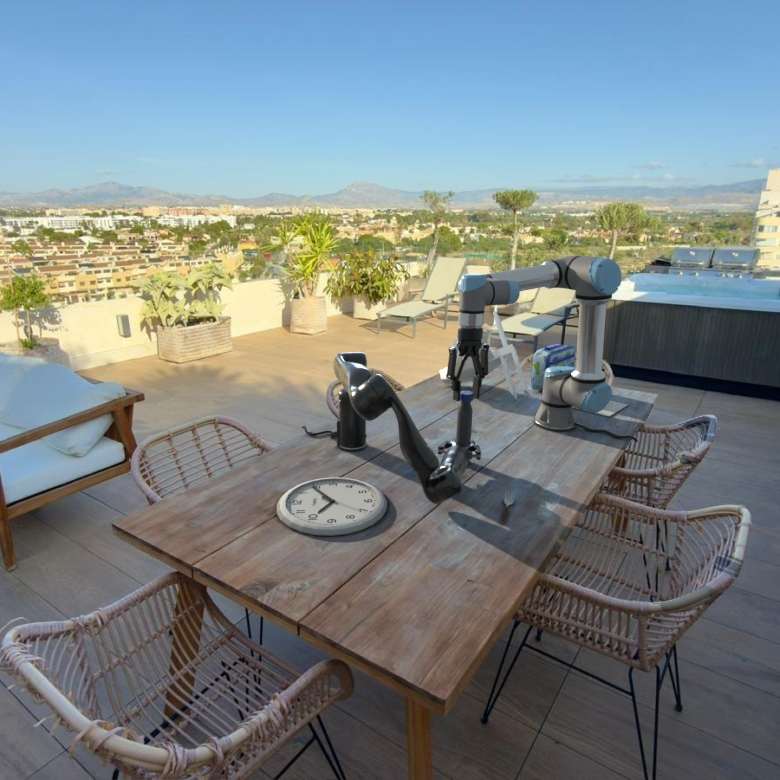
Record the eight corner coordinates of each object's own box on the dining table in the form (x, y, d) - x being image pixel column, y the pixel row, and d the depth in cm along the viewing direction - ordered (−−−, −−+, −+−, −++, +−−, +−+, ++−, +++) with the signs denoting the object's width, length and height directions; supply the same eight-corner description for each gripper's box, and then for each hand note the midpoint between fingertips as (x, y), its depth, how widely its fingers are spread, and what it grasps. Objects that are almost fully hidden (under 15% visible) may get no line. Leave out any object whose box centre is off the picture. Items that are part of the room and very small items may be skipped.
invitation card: (608, 416, 214) (573, 407, 224) (608, 416, 214) (573, 408, 224) (628, 404, 229) (594, 396, 238) (628, 405, 229) (594, 397, 238)
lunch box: (547, 396, 238) (552, 351, 232) (526, 391, 246) (531, 347, 239) (574, 385, 256) (579, 343, 250) (554, 380, 263) (559, 340, 257)
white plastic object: (461, 429, 252) (437, 405, 227) (444, 352, 274) (420, 323, 250) (535, 404, 240) (518, 377, 215) (510, 326, 262) (492, 293, 237)
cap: (468, 396, 167) (468, 389, 166) (475, 400, 163) (475, 393, 163) (456, 398, 165) (457, 391, 165) (463, 402, 162) (463, 395, 161)
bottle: (466, 458, 173) (470, 392, 167) (471, 464, 169) (476, 397, 162) (452, 459, 172) (456, 393, 166) (457, 465, 168) (461, 397, 161)
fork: (496, 524, 135) (497, 517, 134) (505, 496, 149) (506, 489, 148) (506, 526, 134) (507, 519, 133) (514, 497, 148) (515, 491, 148)
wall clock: (392, 527, 129) (268, 531, 127) (391, 533, 130) (269, 537, 127) (383, 473, 158) (282, 475, 155) (383, 478, 158) (282, 480, 156)
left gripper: (479, 454, 153) (487, 433, 168) (431, 447, 157) (443, 427, 172) (477, 477, 155) (485, 454, 170) (430, 470, 159) (442, 448, 175)
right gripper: (489, 322, 165) (484, 391, 172) (436, 326, 156) (433, 399, 163) (504, 326, 158) (498, 398, 165) (449, 330, 150) (446, 406, 157)
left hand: (464, 441), depth 171 cm, fingers closed on bottle, 4 cm apart
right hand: (466, 398), depth 164 cm, fingers open, 7 cm apart
